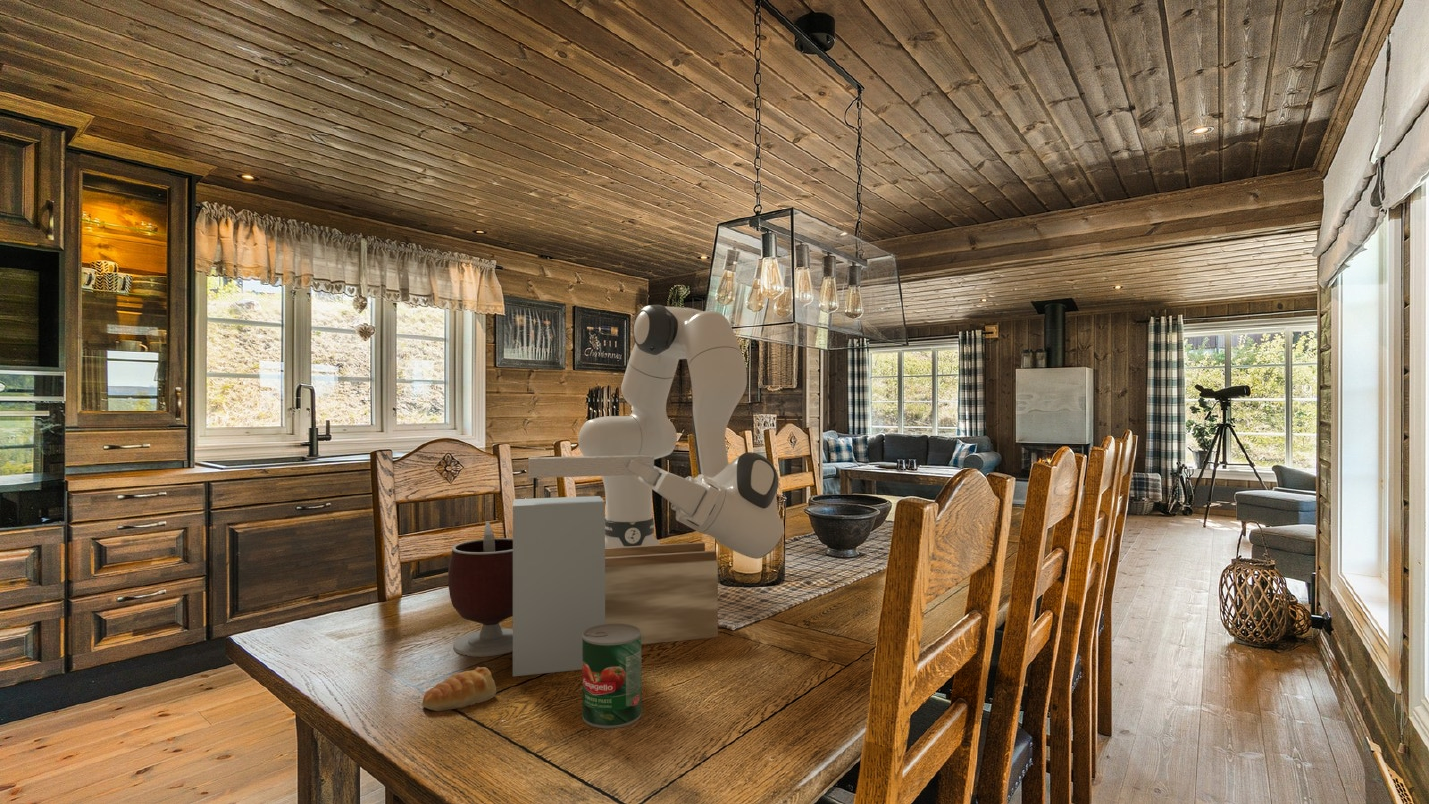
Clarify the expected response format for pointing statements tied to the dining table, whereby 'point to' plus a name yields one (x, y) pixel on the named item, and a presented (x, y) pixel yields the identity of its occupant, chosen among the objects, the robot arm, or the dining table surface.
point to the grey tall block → (556, 580)
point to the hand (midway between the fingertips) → (627, 462)
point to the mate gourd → (483, 592)
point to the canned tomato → (611, 675)
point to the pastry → (461, 690)
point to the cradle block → (663, 591)
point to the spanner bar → (585, 466)
